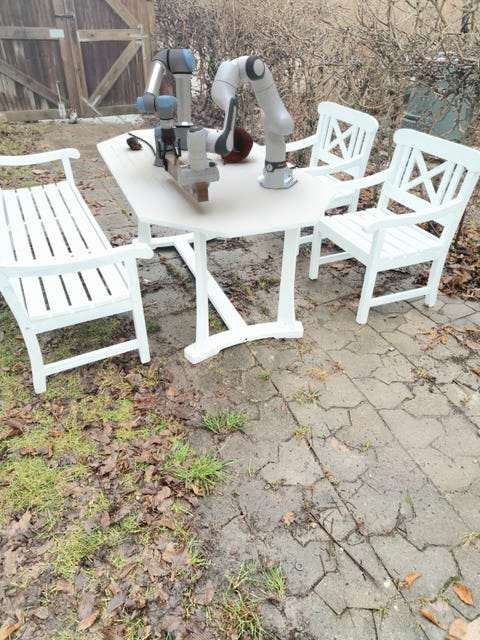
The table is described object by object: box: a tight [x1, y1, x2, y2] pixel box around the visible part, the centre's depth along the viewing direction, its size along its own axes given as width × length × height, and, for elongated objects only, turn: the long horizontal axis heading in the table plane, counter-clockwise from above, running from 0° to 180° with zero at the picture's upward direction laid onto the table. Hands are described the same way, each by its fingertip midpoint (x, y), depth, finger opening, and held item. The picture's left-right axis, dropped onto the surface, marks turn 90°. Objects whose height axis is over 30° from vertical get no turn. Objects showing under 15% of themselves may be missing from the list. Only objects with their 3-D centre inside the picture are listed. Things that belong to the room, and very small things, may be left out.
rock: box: [125, 136, 143, 150], centre depth 324 cm, size 12×9×10 cm
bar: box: [163, 154, 210, 203], centre depth 237 cm, size 62×5×8 cm, turn 23°
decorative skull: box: [216, 126, 254, 165], centre depth 295 cm, size 21×24×25 cm
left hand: (171, 170), depth 259 cm, fingers closed on bar, 5 cm apart
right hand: (199, 192), depth 218 cm, fingers closed on bar, 5 cm apart
